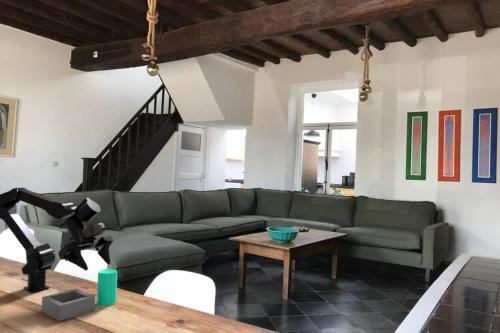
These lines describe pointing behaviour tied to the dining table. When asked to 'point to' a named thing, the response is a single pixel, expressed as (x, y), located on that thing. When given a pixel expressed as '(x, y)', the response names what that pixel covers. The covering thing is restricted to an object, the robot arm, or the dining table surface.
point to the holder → (68, 304)
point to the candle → (107, 287)
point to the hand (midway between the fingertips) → (98, 266)
